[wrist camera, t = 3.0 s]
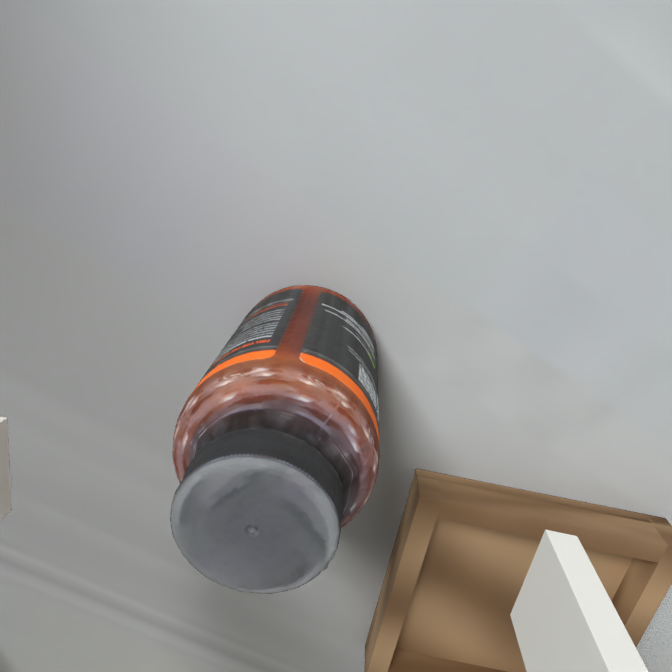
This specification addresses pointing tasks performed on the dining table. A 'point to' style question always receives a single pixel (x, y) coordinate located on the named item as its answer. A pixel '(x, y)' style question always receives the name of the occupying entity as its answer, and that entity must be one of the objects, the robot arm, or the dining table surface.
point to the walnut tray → (499, 572)
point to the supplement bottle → (278, 443)
